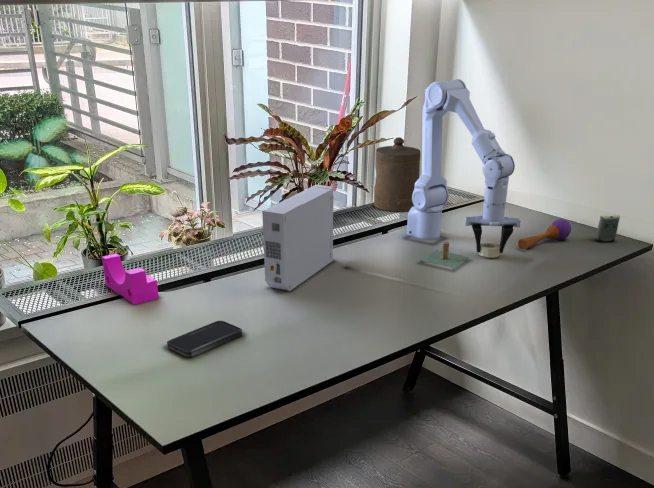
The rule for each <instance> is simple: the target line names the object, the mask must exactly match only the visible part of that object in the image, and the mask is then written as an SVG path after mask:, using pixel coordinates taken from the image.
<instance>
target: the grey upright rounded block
mask: <svg viewBox="0 0 654 488" xmlns="http://www.w3.org/2000/svg"><path fill="white" fill-rule="evenodd" d="M620 218H621V215H620V214H616V213H615V214H611V213H610V214H601V215H600V216H599V221H598V225H597V231H596V232H597V233H596V242H597V243H608V242H609V243H610V242H615V240H616V237H617V233H618V228H619V223H620Z"/></svg>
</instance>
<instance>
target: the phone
mask: <svg viewBox="0 0 654 488" xmlns="http://www.w3.org/2000/svg"><path fill="white" fill-rule="evenodd" d="M242 336H243V329H242V328H241V327H238V326H236V325H234V324H231V323H229V322H227V321H225V320H216V321H214V322H213V321H212V322H211V323H208V324H206V325H204V326H201V327H199V328H196V329H194V330H191V331H187V332H186V333H184V334H181V335H179V336H176V337H173V338H171V339H168V340H167V341H166V345H167V348H168V349H169V350H171V351H173V352H176V353H177V354H179V355H181V356H183V357H185V358H193V357H195V356H198V355H200V354H202V353H205V352H207V351H210V350H212V349H214V348H217V347H219V346H221V345H223V344H226V343H228V342H230V341H233V340H235V339H237V338H240V337H242Z"/></svg>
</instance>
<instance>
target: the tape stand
mask: <svg viewBox="0 0 654 488" xmlns="http://www.w3.org/2000/svg"><path fill="white" fill-rule="evenodd" d="M449 251H450V242H449V241H443V242H442V246H441V250H439V249H436V250H434V251H433V252H431V253H429V254H428V255H426V256H425V257H422V258H421V259H420V261H422V262H426V263H430V264H434V265H439V266H443V267H448V268H453V269H454V268H455V267H457V266H458V265H460V264H461V263H463V262H465V261H466V260H468V259H469V258H470V257H469V256H467V255H461V254H456V253H452V252H449Z"/></svg>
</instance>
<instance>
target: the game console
mask: <svg viewBox="0 0 654 488" xmlns="http://www.w3.org/2000/svg"><path fill="white" fill-rule="evenodd" d="M261 213H262V214H261V215H262V235H263V236H262V237H263V259H264V261H263V262H264V263H263V264H264V281H265V283H266V284H267V286H268V287H269V288H273V289H276V290H277V289H278V290H282V291H288V292H291V291H292V290H293V289H295V288H296V287H297V286H299V285H300V284H302V283H304V281H306V280H308V279H309V278H310V277H312V276H313V275H315V274H316V273H318V272H319V271H320V270H322V269H323V268H325V267H326V266H328V265H329V264H330V263H332V262H333V261H334V187H333V186H329V185H323V184H314V185H312V186H310V187H309V188H307V189H304V190H302V191H300V192H298V193H295V194H294V195H292V196H290V197H288V198H286V199H284V200H282V201H280V202H277V203H276V204H274V205H272V206H270V207H268V208H265V209H262V210H261Z"/></svg>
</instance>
